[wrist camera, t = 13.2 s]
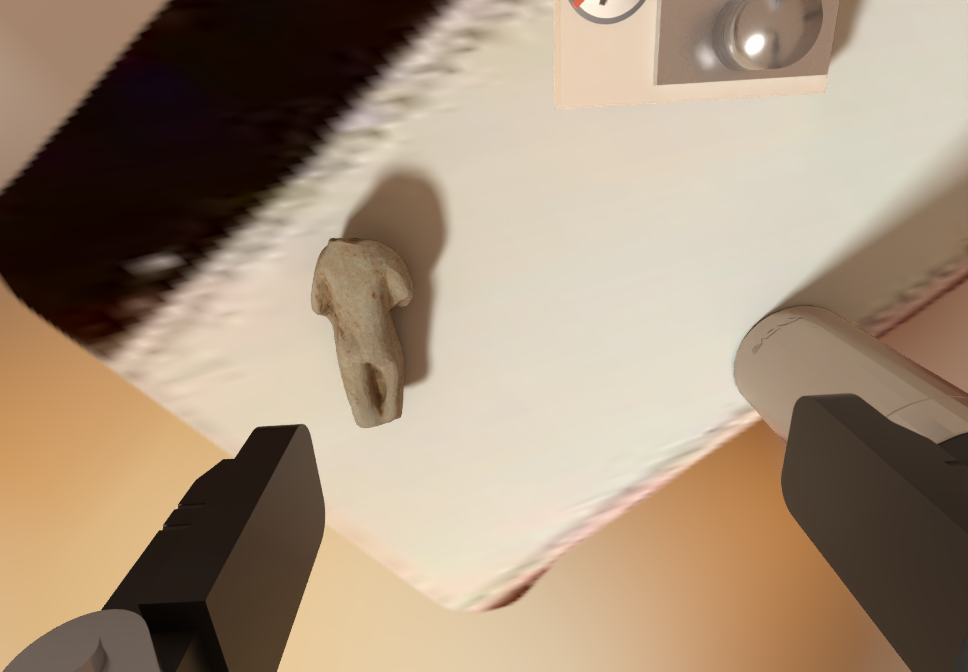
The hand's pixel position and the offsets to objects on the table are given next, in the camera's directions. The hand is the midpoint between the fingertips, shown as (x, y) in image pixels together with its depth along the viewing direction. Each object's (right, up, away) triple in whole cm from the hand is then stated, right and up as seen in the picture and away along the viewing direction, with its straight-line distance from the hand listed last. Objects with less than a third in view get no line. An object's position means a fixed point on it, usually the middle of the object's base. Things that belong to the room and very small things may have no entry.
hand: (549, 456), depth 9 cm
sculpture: (-9, +3, +34) cm, 35 cm away
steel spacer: (+14, +19, +23) cm, 33 cm away
